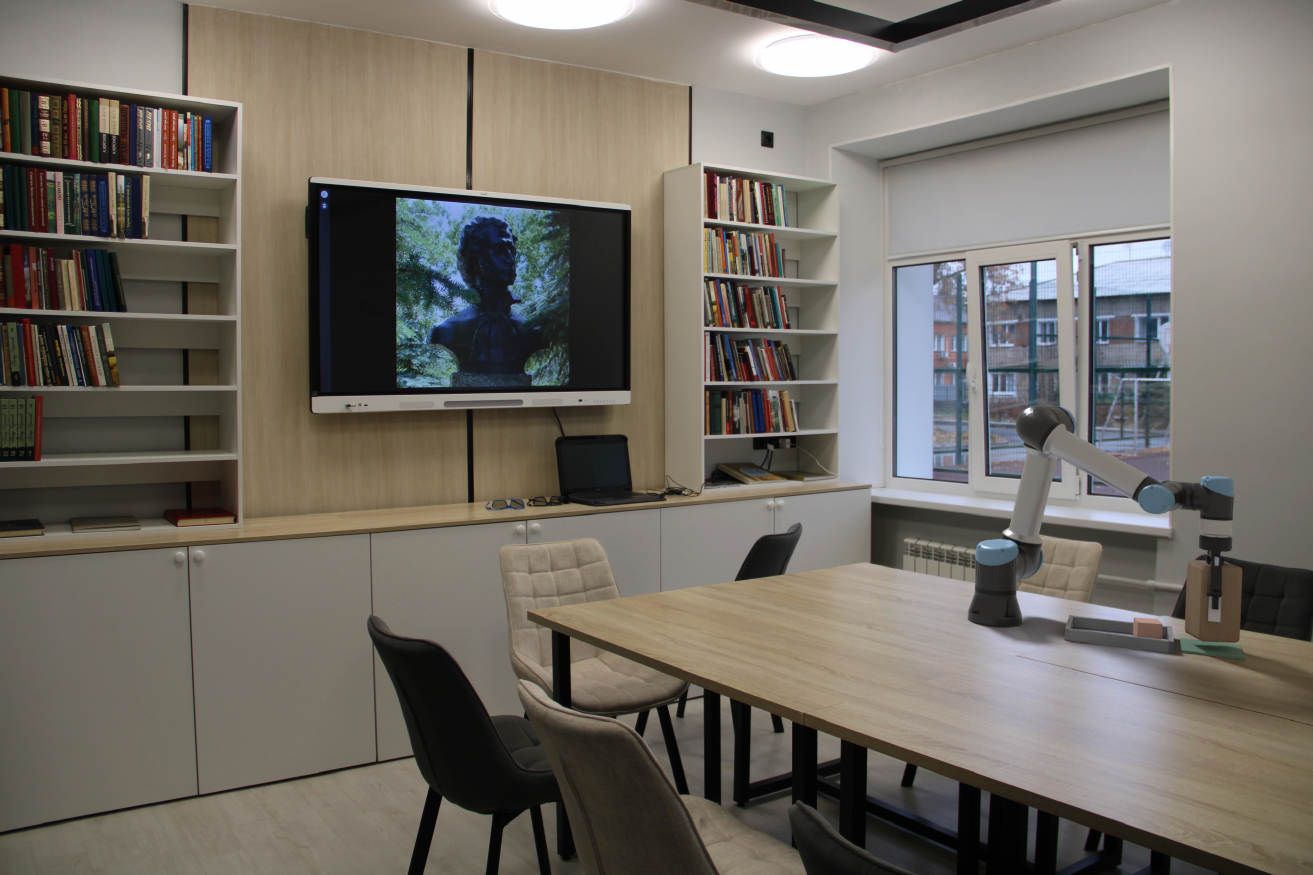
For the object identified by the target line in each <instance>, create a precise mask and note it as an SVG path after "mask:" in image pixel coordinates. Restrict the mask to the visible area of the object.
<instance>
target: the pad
mask: <svg viewBox="0 0 1313 875" xmlns="http://www.w3.org/2000/svg"><path fill="white" fill-rule="evenodd" d="M1179 644H1180V650H1181V653H1184V654H1194V655H1200V656H1206V657H1207V656H1209V657H1215V658H1217V657H1218V658H1225V659H1233V660H1242V661H1245V655H1244V652H1243V651H1242V650H1243V649H1242V648H1241V646H1240V644H1236V643H1230V642H1203V641H1200V640H1198V639H1196V638H1195V639H1194V638H1184V637H1179Z"/></svg>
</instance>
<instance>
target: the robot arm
mask: <svg viewBox="0 0 1313 875" xmlns="http://www.w3.org/2000/svg"><path fill="white" fill-rule="evenodd" d="M1015 430H1016V433H1017V435H1018V437H1019V438H1020V439H1021V441H1023V443H1022V444H1023V445H1022V446H1023V448H1024V450H1025V451H1026V456H1025V459H1024V460H1025V461H1024V463H1023V469H1022V473H1021V476H1020V482H1019V485H1018V490H1017V493H1016V497H1015V501H1014V506H1013V511H1012V515H1011V519H1010V523H1009V527H1008V528H1006V529H1004V530H1003V531H1002V533H1001V538H997V539H996V538H994V539H986V540H983V541H980V542H979V543H978V544H977V545H976V549H975V555H974V559H975V561H974V564H975V566H974V567H975V568H974V569H975V570H974V594H973V596H972V599H971V602H970V605H969V607H968V610H967V619H968V620H969V621H970V622H972V623H975V624H978V625H986V626H990V627H1017V626H1019V625H1022V623H1023V614H1022V611H1021V608H1020V604H1019V601H1018V598H1017V597H1018V596H1017V589H1018V588H1017V587H1018V586H1017V585H1018V581H1020V580H1026V579H1029V578H1030V577H1032V576H1034V575H1036V574H1037V573H1038V572H1039V571H1040V570H1041V568H1042V567H1043V564H1044V560H1045V559H1044V557H1045V556H1044V552H1043V551H1042V546H1043V541H1044V540H1043V539H1042V538H1041V536H1040V531H1041V527H1042V523H1043V520H1044V519H1043V518H1044V514H1045V511H1046V507H1047V502H1048V499H1049V494H1050V491H1051V486H1052V482H1053V477H1054V474H1055V470H1056V467H1057V466H1056V465H1057V461H1058V459H1060V460H1063V461H1064V462H1066V463H1068V464H1070V465H1071V466H1074V467H1075V468H1076V469H1078V470H1081V471H1082V472H1084V473H1085V474H1087V475H1089V476H1090V477H1092V478H1094V479H1096V481H1097V480H1098V481H1099V482H1101V483H1102V484H1105V485H1106V486H1108V487H1109V488H1112V489H1113V490H1115V491H1117V492H1118V493H1121V494H1122V495H1124V496H1126V498H1129V499H1131V500H1132V501H1134V502H1136V503H1138V505H1139V506H1140V508H1141V509H1142V510H1143V511H1144V512H1146V513H1148V514H1152V515H1161V514H1162V515H1164V514H1166V513H1169V512H1172V511H1176V510H1181V511H1182V510H1183V511H1194V512H1199V525H1198V526H1199V527H1198V528H1199V529H1198V531H1199V533H1200V535H1199V536H1198V548H1199V549H1200V550H1202V551H1206V553H1207V555H1205V561H1206V563H1207V564H1209V565H1211V582H1210V593H1207V596H1209V608H1208V621H1214V622H1220V618H1221V596H1222V566H1223V565H1224V562H1225V558H1224V557H1223V556H1221V555H1222V552H1224V553H1226V552H1230V551H1232V549H1233V538H1232V537H1231V535H1233V528H1235V527H1236V523H1234V521H1233V520H1234V504H1235V503H1234V502H1235V496H1236V495H1235V485H1234V484H1235V482H1234V479H1232V478H1231V477H1228V476H1219V475H1218V476H1217V475H1205V476H1204V475H1203V476H1202V477H1201V478H1200V480H1201V481H1199V482H1186V481H1176V480H1175V481H1173V480H1167V479H1166V480H1157V479H1156V478H1153V477H1151V476H1150V475H1148V474H1146V473H1145V472H1143V471H1141V470H1140V469H1138V468H1136V467H1134V466H1132V465H1130V464H1128V463H1126V462H1125V461H1123V460H1122V459H1119V458H1117V457H1116V456H1114V455H1113V454H1110V453H1108V452H1106V451H1105V450H1103V449H1101V448H1100V447H1098V446H1096V445H1094V444H1092V443H1090V442H1088V441H1086V440H1085V439H1083V438H1082V437H1080V436H1077V435H1076V432H1077V421H1076V419H1075V416H1074V415H1073V413H1072V412H1071V411H1070V410H1068V409H1067V408H1066V407H1063V406H1060V405H1057V404H1044V405H1040V404H1039V405H1038V404H1037V405H1031V406H1028V407H1026V408H1025V409H1023V410H1022V411H1021V412H1020V413H1019V415H1018V416H1017V418H1016V421H1015ZM1215 566H1218V567H1215Z"/></svg>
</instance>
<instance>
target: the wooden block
mask: <svg viewBox="0 0 1313 875" xmlns="http://www.w3.org/2000/svg"><path fill="white" fill-rule="evenodd" d="M1186 565H1187V566H1186V588H1185V590H1186V591H1185V614H1184V615H1185V616H1184V631H1185V633H1186V634H1188V635H1189V636H1191V637H1193V638H1195V639H1196V640H1200V641H1203V642H1221V643H1229V644H1236V643H1239V642H1240V638H1241V636H1240V635H1241V614H1242V610H1241V609H1242V607H1241V606H1242V588H1243V568H1242V567H1240V566H1237V565H1236V564H1232V563H1229V562H1227V561H1224V565H1223V566H1222V596H1221V618H1220V622H1214V621H1208V608H1209V596H1207V593H1210V582H1211V565H1209V564H1207V563H1206V560H1200V559H1199V560H1196V559H1195V560H1194V559H1193V560H1192V559H1191V560H1188V561H1187V563H1186ZM1215 567H1218V566H1215Z"/></svg>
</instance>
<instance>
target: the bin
mask: <svg viewBox="0 0 1313 875" xmlns="http://www.w3.org/2000/svg"><path fill="white" fill-rule="evenodd" d="M1133 623H1134V621H1127V620H1126V621H1125V620H1116V619H1109V618H1107V619H1106V618H1097V617H1088V616H1079V615H1071V614H1069V615H1068V619H1067V622H1066V625H1065V628H1064V639H1063V640H1064V641H1071V642H1079V643H1087V644H1096V645H1103V646H1104V645H1105V646H1111V647H1120V648H1127V649H1128V648H1129V649H1134V650H1136V649H1137V650H1144V651H1153V652H1159V653H1160V652H1161V653H1166V654H1167V653H1168V654H1174V652H1175V650H1174V649H1175V638H1174V632H1173V631H1174V630H1173V626H1170V625H1162V639H1154V638H1145V637H1137V636H1133ZM1075 628H1081V629H1075ZM1082 628H1083V629H1084V630H1082ZM1085 629H1089V630H1085ZM1093 630H1098V631H1093ZM1101 631H1108V632H1101ZM1110 632H1116V633H1110ZM1118 633H1119V634H1118ZM1120 633H1123V634H1120ZM1124 633H1125V634H1124ZM1127 634H1131V635H1127ZM1163 638H1166V639H1163Z"/></svg>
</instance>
